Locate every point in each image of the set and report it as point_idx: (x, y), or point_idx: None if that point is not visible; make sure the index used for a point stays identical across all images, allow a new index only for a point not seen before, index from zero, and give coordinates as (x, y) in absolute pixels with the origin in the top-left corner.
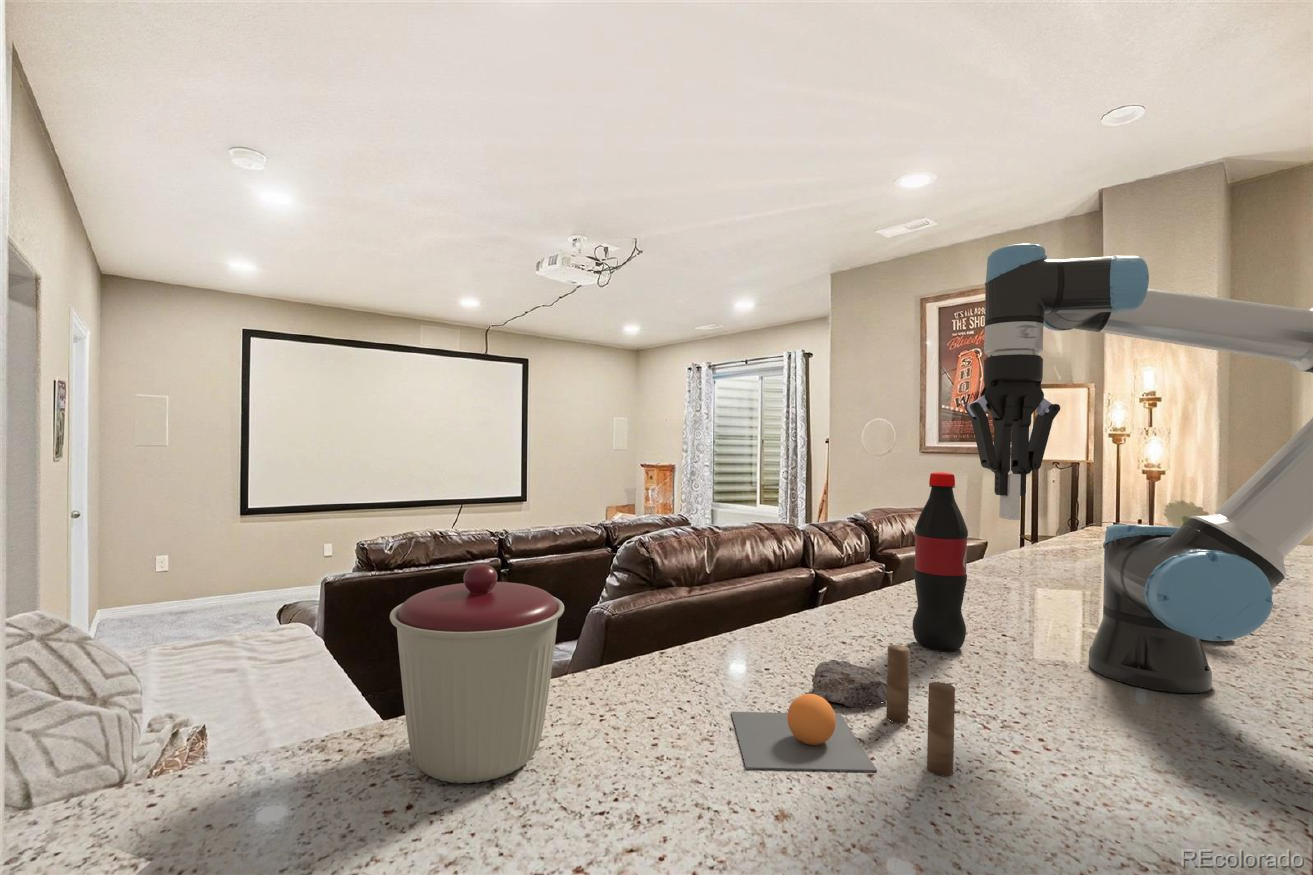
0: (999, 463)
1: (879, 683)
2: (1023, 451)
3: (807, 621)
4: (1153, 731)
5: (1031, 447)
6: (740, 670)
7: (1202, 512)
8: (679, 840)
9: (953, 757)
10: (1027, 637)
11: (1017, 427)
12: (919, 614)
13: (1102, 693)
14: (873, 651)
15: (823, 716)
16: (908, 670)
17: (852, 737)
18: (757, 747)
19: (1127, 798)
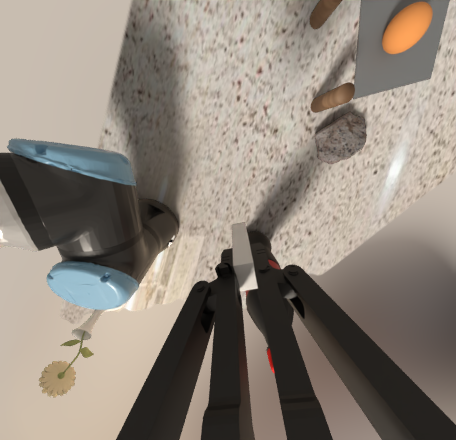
0: (277, 281)
1: (328, 127)
2: (228, 309)
3: (321, 264)
4: (171, 134)
5: (201, 340)
6: (394, 164)
7: (42, 379)
8: None
9: (315, 8)
10: (199, 268)
11: (245, 405)
12: (270, 248)
13: (182, 188)
14: (295, 222)
15: (411, 5)
16: (330, 92)
17: (359, 55)
18: (434, 11)
19: (215, 11)
